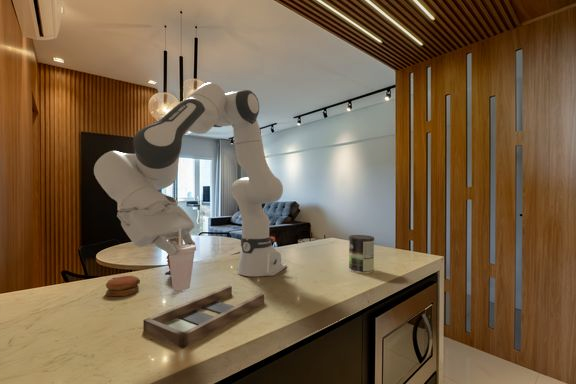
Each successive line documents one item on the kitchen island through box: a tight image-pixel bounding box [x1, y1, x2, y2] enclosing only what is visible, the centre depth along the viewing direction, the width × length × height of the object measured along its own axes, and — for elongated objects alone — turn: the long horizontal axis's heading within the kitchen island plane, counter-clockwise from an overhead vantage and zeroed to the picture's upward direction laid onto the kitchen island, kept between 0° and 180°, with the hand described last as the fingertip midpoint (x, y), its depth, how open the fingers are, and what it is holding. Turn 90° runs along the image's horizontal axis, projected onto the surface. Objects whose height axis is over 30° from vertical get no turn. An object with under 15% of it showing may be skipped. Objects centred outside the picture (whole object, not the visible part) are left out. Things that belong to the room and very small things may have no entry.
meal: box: [164, 240, 178, 276], centre depth 103 cm, size 15×4×13 cm, turn 36°
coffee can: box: [348, 234, 375, 274], centre depth 115 cm, size 10×10×14 cm
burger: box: [105, 275, 141, 297], centre depth 88 cm, size 10×9×5 cm
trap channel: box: [142, 285, 265, 349], centre depth 71 cm, size 28×14×2 cm, turn 149°
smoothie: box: [169, 228, 197, 292], centre depth 64 cm, size 6×6×14 cm
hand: (184, 250), depth 64 cm, fingers closed on smoothie, 6 cm apart
